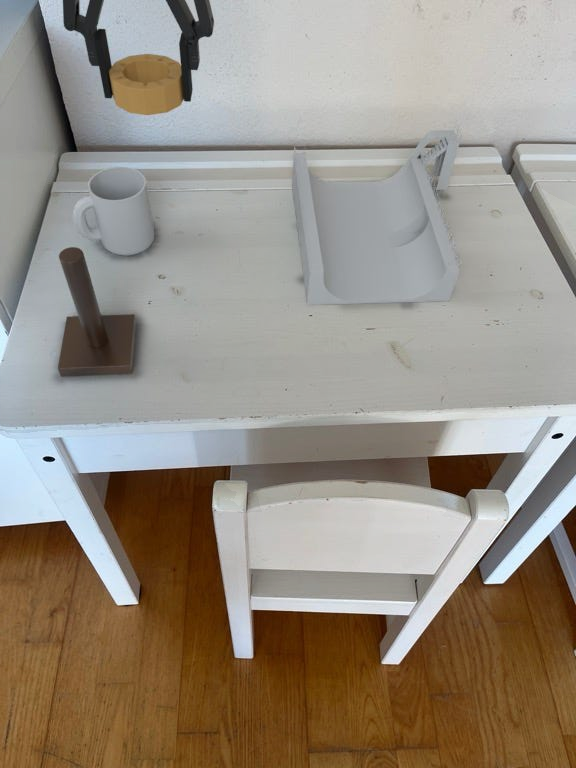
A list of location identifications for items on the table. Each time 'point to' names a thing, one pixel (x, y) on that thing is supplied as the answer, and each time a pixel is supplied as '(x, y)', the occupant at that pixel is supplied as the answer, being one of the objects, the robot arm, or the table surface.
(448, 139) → the skate ramp
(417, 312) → the table surface
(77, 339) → the stand
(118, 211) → the cup
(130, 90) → the tape roll
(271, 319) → the table surface
